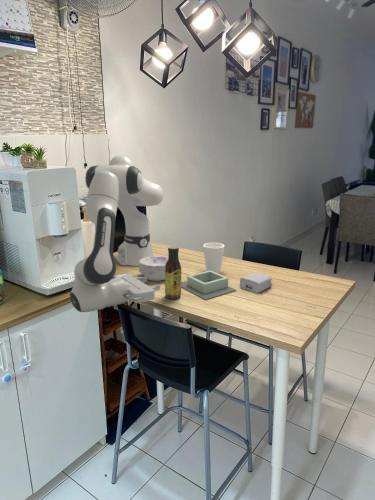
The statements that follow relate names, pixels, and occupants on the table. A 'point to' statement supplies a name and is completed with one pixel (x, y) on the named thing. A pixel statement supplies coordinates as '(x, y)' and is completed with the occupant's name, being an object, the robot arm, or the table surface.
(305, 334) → the table surface
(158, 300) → the table surface
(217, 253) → the foam cup
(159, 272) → the paper bowls
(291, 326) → the table surface
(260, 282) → the charger
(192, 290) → the mat
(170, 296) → the sauce bottle
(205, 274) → the bottle holder
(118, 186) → the robot arm
